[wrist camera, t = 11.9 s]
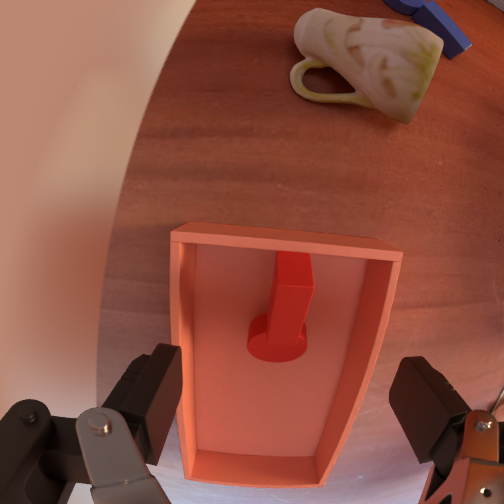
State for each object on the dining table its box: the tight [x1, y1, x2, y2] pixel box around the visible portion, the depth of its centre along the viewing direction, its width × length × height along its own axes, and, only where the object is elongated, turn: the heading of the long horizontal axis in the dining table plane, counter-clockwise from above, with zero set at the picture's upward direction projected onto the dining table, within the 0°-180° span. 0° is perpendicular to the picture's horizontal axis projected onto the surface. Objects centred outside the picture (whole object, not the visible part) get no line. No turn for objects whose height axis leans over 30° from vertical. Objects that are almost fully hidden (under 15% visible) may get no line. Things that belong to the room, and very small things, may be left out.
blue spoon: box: [384, 0, 472, 59], centre depth 14 cm, size 9×4×3 cm, turn 42°
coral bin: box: [170, 222, 403, 488], centre depth 20 cm, size 23×13×4 cm, turn 175°
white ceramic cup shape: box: [290, 8, 444, 125], centre depth 14 cm, size 8×10×10 cm
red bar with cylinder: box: [247, 250, 314, 363], centre depth 17 cm, size 9×4×3 cm, turn 175°
